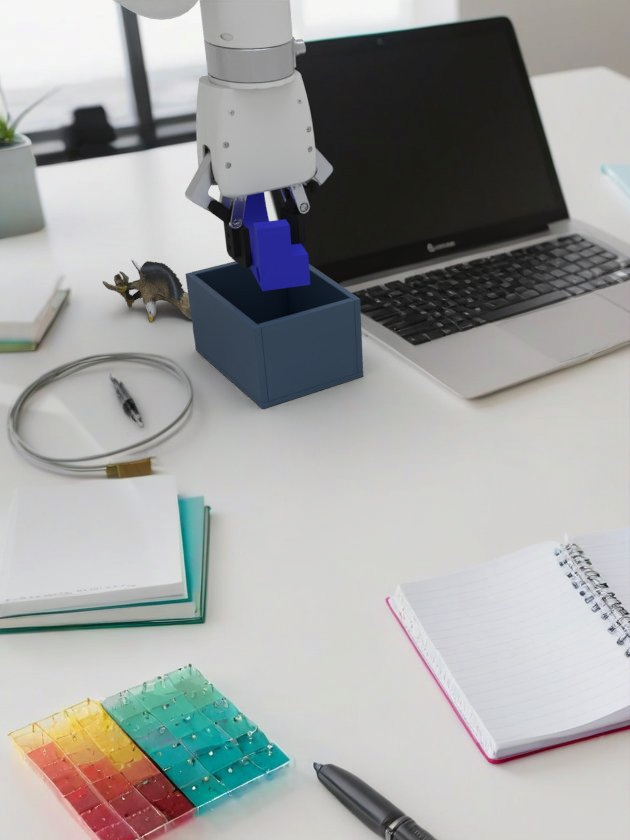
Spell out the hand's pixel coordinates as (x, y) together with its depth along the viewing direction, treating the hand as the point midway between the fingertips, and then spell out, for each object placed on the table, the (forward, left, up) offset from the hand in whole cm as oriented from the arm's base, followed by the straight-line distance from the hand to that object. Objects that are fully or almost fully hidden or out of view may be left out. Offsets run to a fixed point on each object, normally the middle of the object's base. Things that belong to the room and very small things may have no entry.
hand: (267, 254), depth 111 cm
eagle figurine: (-5, +17, -12) cm, 21 cm away
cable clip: (0, 0, -1) cm, 1 cm away
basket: (0, 0, -12) cm, 12 cm away
